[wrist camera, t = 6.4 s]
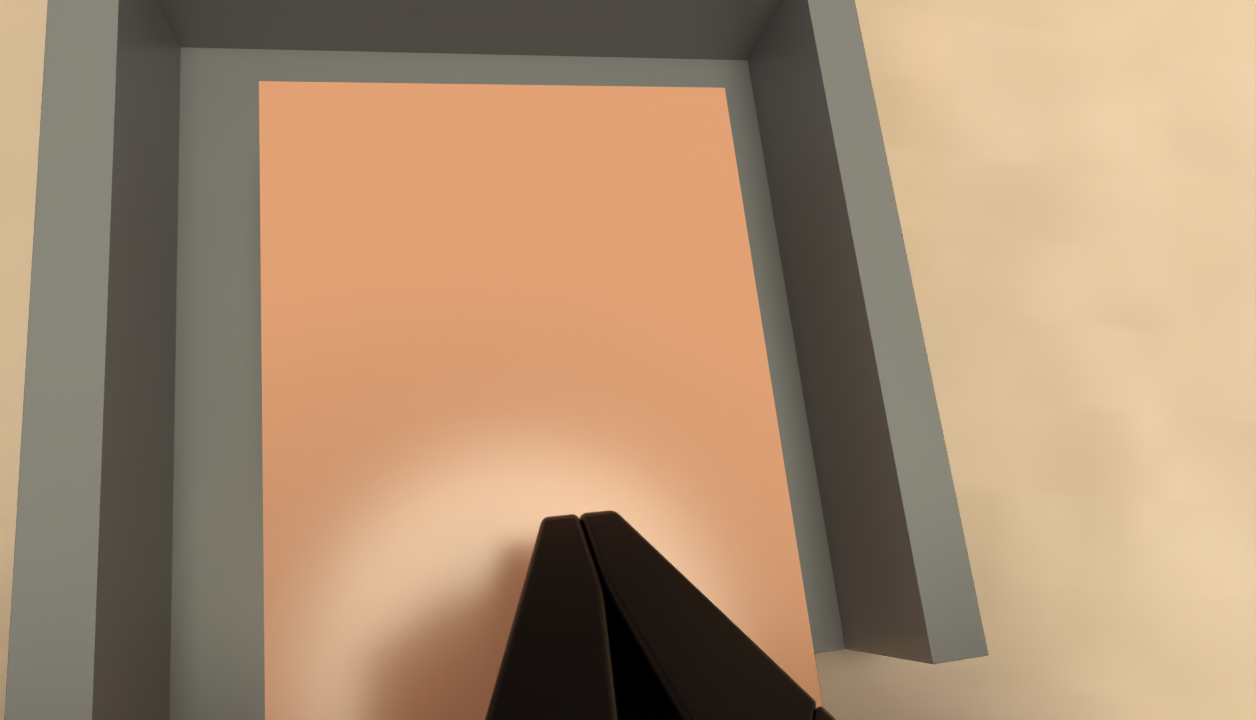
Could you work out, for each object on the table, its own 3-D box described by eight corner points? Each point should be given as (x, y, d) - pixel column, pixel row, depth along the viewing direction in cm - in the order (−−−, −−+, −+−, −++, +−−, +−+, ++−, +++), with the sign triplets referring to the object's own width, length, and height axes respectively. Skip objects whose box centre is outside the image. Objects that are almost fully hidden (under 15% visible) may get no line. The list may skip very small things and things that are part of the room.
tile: (826, 726, 13) (724, 87, 15) (266, 823, 11) (259, 81, 13) (757, 699, 15) (681, 165, 18) (304, 772, 14) (293, 168, 16)
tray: (882, 640, 17) (988, 655, 13) (110, 755, 14) (-2, 812, 10) (774, 34, 20) (839, -75, 17) (134, 15, 17) (55, -124, 13)
